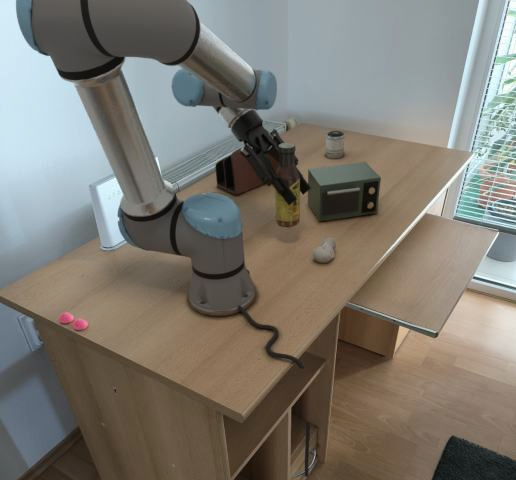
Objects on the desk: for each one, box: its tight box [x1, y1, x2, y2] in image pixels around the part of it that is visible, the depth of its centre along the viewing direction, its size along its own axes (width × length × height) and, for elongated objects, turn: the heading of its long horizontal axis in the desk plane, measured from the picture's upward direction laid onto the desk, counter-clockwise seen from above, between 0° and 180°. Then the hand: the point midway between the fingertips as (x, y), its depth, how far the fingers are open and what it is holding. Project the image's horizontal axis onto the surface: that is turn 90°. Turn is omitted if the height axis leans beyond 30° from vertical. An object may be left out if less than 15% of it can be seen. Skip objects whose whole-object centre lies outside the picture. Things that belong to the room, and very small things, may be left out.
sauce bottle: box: [274, 142, 301, 228], centre depth 126 cm, size 6×6×20 cm
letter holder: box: [214, 145, 280, 196], centre depth 162 cm, size 10×20×14 cm, turn 131°
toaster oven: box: [307, 161, 382, 223], centre depth 143 cm, size 14×17×11 cm
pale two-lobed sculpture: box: [312, 237, 337, 264], centre depth 127 cm, size 4×8×5 cm
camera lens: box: [325, 130, 346, 159], centre depth 177 cm, size 6×6×8 cm
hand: (300, 196), depth 125 cm, fingers closed on sauce bottle, 6 cm apart
